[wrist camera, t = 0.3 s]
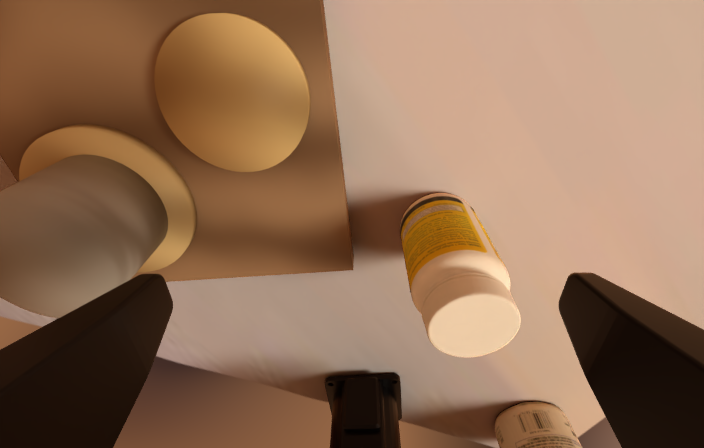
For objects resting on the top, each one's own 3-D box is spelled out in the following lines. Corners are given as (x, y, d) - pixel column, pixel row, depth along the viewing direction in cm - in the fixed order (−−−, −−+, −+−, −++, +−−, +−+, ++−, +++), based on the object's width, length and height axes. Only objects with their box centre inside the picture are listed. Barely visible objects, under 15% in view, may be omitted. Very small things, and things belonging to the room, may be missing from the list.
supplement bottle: (383, 231, 22) (394, 335, 15) (433, 176, 20) (473, 267, 13) (439, 265, 24) (473, 376, 17) (491, 217, 22) (555, 320, 15)
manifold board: (353, 255, 23) (350, 344, 17) (101, 272, 25) (14, 360, 18) (311, -102, 14) (270, -189, 8) (-94, -45, 15) (-405, -82, 9)
